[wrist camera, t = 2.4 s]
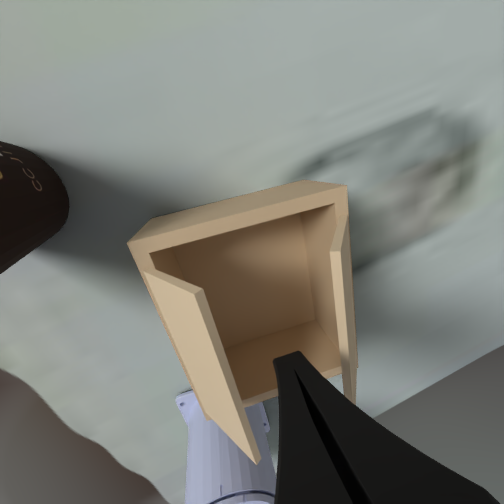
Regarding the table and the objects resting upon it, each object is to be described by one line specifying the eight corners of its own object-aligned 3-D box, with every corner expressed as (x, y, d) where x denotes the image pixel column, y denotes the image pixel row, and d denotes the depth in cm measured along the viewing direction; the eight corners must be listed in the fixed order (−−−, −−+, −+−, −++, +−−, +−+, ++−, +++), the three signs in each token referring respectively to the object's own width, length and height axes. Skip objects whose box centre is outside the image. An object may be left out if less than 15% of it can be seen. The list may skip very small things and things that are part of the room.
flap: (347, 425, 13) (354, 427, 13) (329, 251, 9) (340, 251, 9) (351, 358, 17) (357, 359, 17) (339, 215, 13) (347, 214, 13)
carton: (321, 320, 24) (358, 367, 18) (205, 358, 22) (206, 421, 17) (303, 179, 18) (346, 185, 13) (150, 218, 17) (126, 242, 12)
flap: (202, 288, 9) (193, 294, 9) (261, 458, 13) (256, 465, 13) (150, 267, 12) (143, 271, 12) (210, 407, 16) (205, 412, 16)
